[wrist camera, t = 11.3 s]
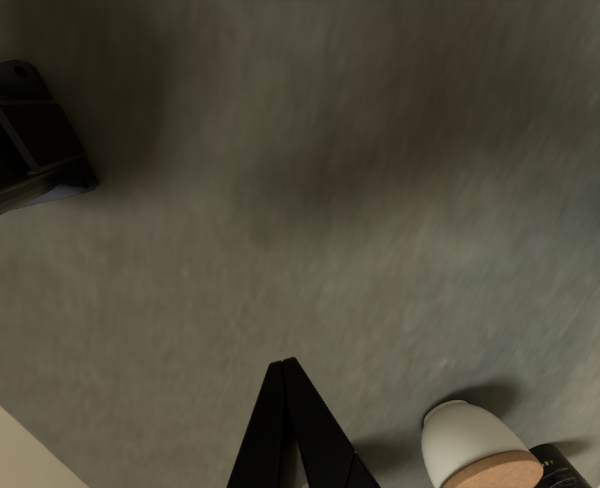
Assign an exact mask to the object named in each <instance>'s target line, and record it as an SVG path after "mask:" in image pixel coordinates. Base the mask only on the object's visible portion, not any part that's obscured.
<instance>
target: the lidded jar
mask: <svg viewBox="0 0 600 488" xmlns="http://www.w3.org/2000/svg"><path fill="white" fill-rule="evenodd" d="M423 423H424V428H423V431H422V436H421V449H422V455H423V459H424V463H425V466H426V469H427V472H428V475H429V477H430V480H431V482H432V484H433V487H434V488H533V487H534V486H535V485H536V484H537V483H538V482H539V480H540V479H541V477H542V475H543V466H542V465H541V463H540V462H539V461H538V459H537V458H536V457H535V456H534V455H533V454H532V453H530V451H529V450H528V449H527V448H526V446H525V445H524V444H523V443H522V441H521V440H520V439H519V438H518V437H517V435H516V434H515V433H514V432H513V431H512V430H511V429H510V428H509V427H508V426H507V425H506V424H505V423H503V422H502V421H501V420H500V419H499V418H498V417H496V416H495V415H494V414H492V413H491V412H489V411H487V410H485V409H483V408H481V407H478V406H476V405H472V404H468V402H466V401H464V400H451V401H447V402H444V403H442V404H440V405H438V406H436V407H435V408H433V409H432V410H431V411H430V412H429V413H428V414H427V415H426V416H425V418H424V422H423Z"/></svg>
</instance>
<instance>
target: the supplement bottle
mask: <svg viewBox="0 0 600 488" xmlns="http://www.w3.org/2000/svg"><path fill="white" fill-rule="evenodd" d="M529 451H530V453H532V454H533V455H534V456H535V457H536V458H537V459H538V461H539V462H540V463H541V465H542V466H543V475H542V477H541V479H540V480H539V482H538V483H537V484H536V485H535V486H534V487H533V488H592V487H591V486H590V485H589V483H588V482H587V481H586V480H585V479H584V478H583V477H582V476H581V474H580V473H579V472H578V471H577V470H576V469H575V468H574V467H573V465H572V464H571V463H570V462H569V461H568V460H567V459H566V458H565V456H564V455H563V454H562V453H561V452H560V451H559V450H558V449H557V448H556V447H554V446H552V445H540V446H537V447H535V448H532V449H530V450H529Z"/></svg>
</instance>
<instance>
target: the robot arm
mask: <svg viewBox="0 0 600 488" xmlns="http://www.w3.org/2000/svg"><path fill="white" fill-rule="evenodd" d="M22 67H23V68H24V69H25V70H26V71H27V74H28V75H27V77H26V78H25V77H24V76H23V75H22V74H21V71H20V70H21V68H22ZM84 179H87V180H89V181H90V183H91V185H90V186H89V185H87V184H86V183H85V182H84ZM98 186H99V181H98V179H97V177H96V175H95V173H94V172H93V170H92V168H91V166H90V164H89V163H88V161H87V159H86V157H85V150H84V148H83V146H82V144H81V143H80V141H79V139H78V137H77V135H76V134H75V132H74V130H73V128H72V126H71V125H70V123H69V121H68V119H67V117H66V115H65V114H64V112H63V110H62V108H61V106H60V105H59V104H58V103H56V102H55V101H54V100H53V98H52V96H51V94H50V93H49V91H48V89H47V87H46V85H45V84H44V82H43V80H42V78H41V76H40V75H39V73H38V71H37V70H36V68H35V67H34V66H33V65H32V64H30V63H29V62H26V61H22V60H11V61H6V62H1V63H0V215H2V214H4V213H6V212H8V211H10V210H14V209H18V208H22V207H27V206H31V205H35V204H39V203H44V202H48V201H52V200H56V199H61V198H65V197H69V196H73V195H78V194H82V193H86V192H90V191H92V190H94V189H96V188H97V187H98ZM300 455H301V458H302V462H303V466H304V470H305V474H306V478H307V481H308V485H309V488H381V487H380V486H379V484H378V483H377V481H376V480H375V478H374V477H373V476H372V474H371V473H370V471H369V470H368V468H367V467H366V465H365V464H364V462H363V461H362V459H361V458H360V456H359V454H358V453H356V450H355V449H354V447H353V445H352V444H351V442H350V441H349V439H348V438H347V436H346V435H345V433H344V432H343V430H342V428H341V427H340V425H339V424H338V422H337V421H336V419H335V418H334V416H333V415H332V413H331V411H330V410H329V408H328V407H327V405H326V404H325V402H324V401H323V399H322V398H321V396H320V394H319V393H318V391H317V390H316V388H315V387H314V385H313V384H312V382H311V381H310V379H309V377H308V376H307V374H306V373H305V371H304V370H303V368H302V367H301V365H300V364H299V362H298V360H297V359H296V358H295V357H291V358H287V359H284V360H283V361H281V360H280V361H276V362H272V363H270V364H269V366H268V369H267V372H266V375H265V378H264V380H263V383H262V386H261V389H260V392H259V395H258V398H257V401H256V404H255V406H254V409H253V412H252V415H251V418H250V421H249V424H248V427H247V429H246V432H245V435H244V438H243V441H242V444H241V447H240V450H239V452H238V455H237V458H236V461H235V464H234V467H233V470H232V473H231V476H230V478H229V481H228V484H227V487H226V488H302V475H301V461H300Z"/></svg>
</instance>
